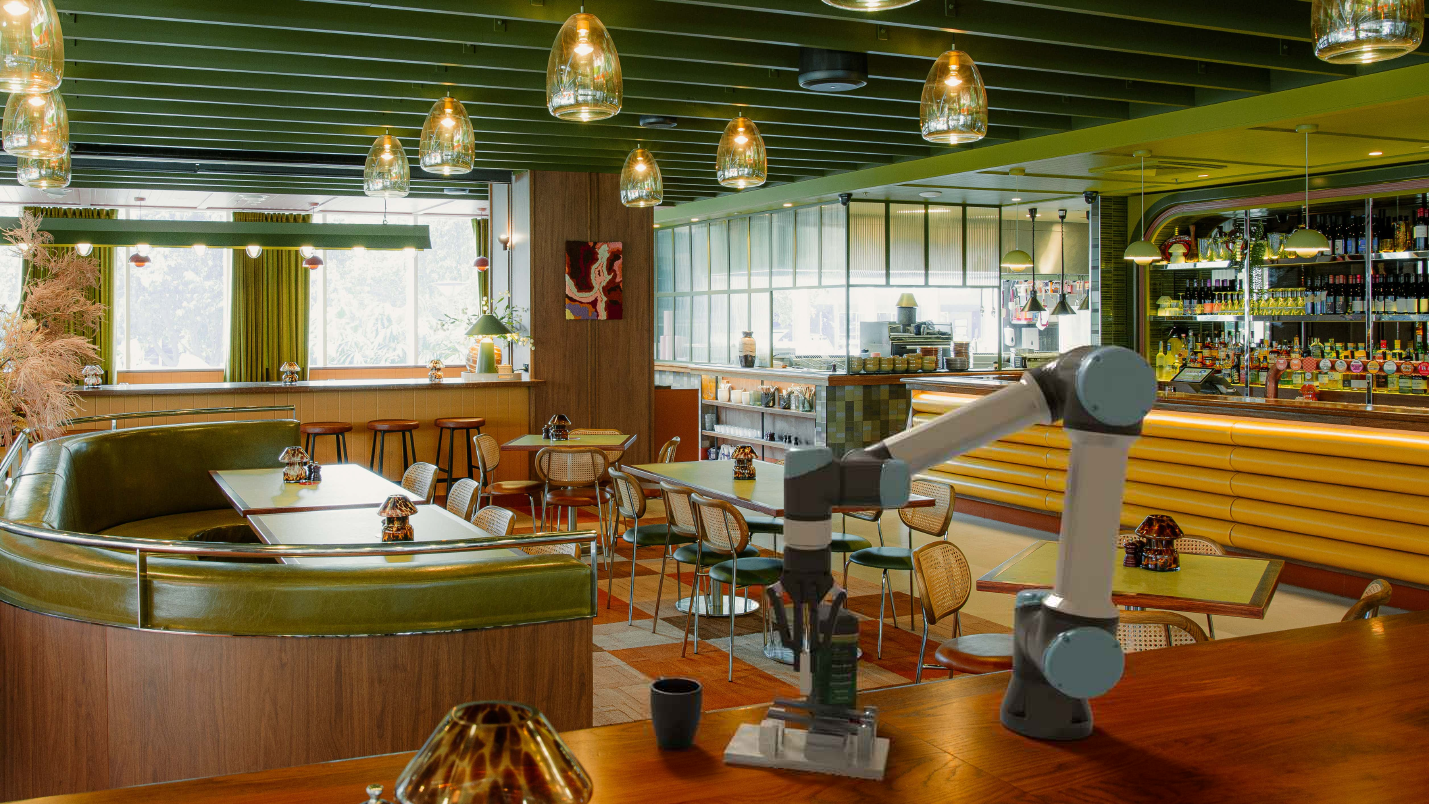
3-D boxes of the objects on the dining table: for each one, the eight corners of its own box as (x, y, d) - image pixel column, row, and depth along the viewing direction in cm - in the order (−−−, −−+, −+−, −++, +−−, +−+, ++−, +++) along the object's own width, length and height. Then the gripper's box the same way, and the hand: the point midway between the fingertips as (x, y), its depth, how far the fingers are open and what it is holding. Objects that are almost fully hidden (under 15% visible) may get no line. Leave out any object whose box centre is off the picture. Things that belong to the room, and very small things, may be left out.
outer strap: (871, 733, 165) (872, 723, 165) (869, 739, 163) (870, 728, 163) (768, 715, 169) (770, 705, 169) (766, 720, 166) (767, 710, 166)
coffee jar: (862, 721, 185) (866, 613, 184) (818, 724, 183) (821, 615, 182) (842, 702, 194) (845, 599, 193) (800, 705, 192) (803, 601, 191)
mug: (685, 724, 182) (686, 668, 181) (708, 751, 170) (709, 691, 170) (637, 729, 179) (638, 672, 178) (657, 756, 168) (658, 696, 167)
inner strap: (874, 720, 171) (875, 710, 171) (873, 725, 169) (874, 715, 169) (775, 703, 175) (776, 693, 174) (773, 708, 172) (774, 698, 172)
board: (889, 748, 173) (890, 705, 173) (882, 780, 160) (883, 734, 160) (741, 732, 179) (742, 690, 178) (723, 762, 166) (724, 717, 166)
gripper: (851, 542, 173) (849, 688, 174) (770, 538, 176) (769, 681, 177) (846, 551, 166) (844, 703, 167) (761, 547, 169) (760, 696, 170)
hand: (805, 692), depth 172 cm, fingers closed
